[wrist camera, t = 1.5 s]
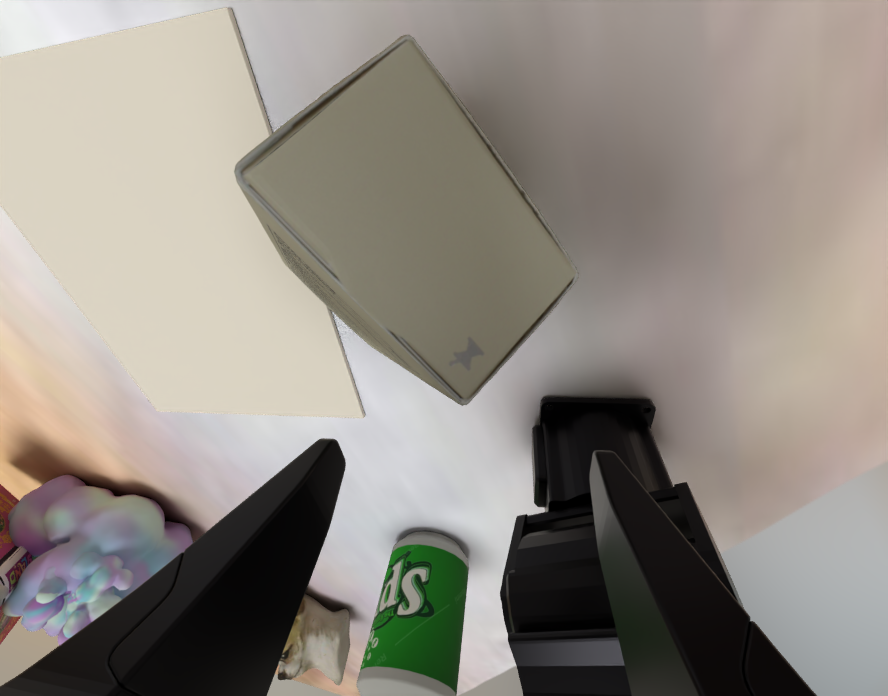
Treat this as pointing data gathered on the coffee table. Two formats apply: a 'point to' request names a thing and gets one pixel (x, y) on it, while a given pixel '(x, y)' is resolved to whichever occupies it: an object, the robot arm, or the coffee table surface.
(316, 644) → the ceramic sculpture
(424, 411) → the coffee table surface
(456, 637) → the soda can
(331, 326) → the cream mat
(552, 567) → the robot arm
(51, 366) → the coffee table surface
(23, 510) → the lilac mottled toy
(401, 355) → the skincare box
